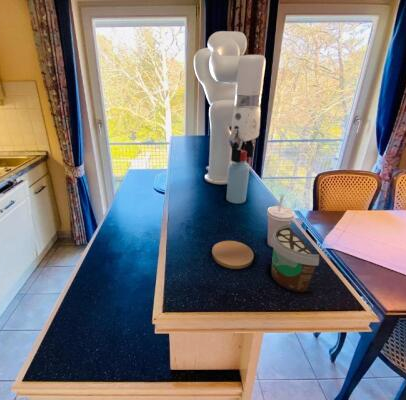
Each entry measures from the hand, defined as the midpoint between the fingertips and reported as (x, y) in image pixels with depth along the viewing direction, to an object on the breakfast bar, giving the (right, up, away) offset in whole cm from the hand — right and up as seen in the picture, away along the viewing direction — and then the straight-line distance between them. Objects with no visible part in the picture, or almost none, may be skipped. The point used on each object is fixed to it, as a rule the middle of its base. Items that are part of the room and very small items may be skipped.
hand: (241, 158), depth 87 cm
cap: (0, 0, +1) cm, 1 cm away
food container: (+1, -31, -29) cm, 42 cm away
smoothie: (+4, -25, -18) cm, 31 cm away
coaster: (-8, -27, -22) cm, 36 cm away
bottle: (0, -13, +7) cm, 15 cm away
